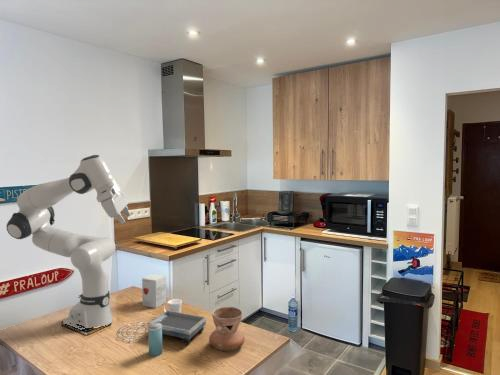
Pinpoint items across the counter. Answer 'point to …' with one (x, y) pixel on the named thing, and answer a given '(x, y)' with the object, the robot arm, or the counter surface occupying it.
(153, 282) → the supplement box
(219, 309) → the ceramic jug
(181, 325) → the shallow tray
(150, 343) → the tin
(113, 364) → the counter surface
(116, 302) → the counter surface
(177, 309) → the cup
